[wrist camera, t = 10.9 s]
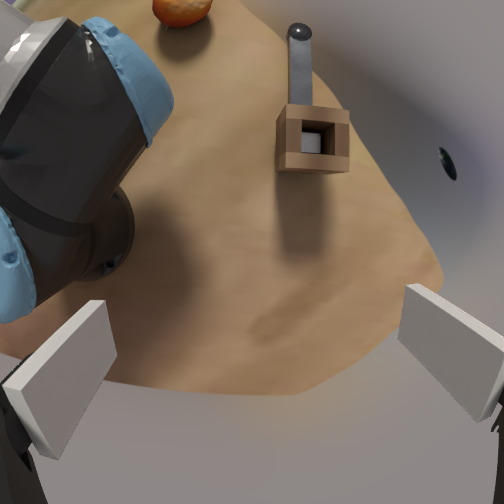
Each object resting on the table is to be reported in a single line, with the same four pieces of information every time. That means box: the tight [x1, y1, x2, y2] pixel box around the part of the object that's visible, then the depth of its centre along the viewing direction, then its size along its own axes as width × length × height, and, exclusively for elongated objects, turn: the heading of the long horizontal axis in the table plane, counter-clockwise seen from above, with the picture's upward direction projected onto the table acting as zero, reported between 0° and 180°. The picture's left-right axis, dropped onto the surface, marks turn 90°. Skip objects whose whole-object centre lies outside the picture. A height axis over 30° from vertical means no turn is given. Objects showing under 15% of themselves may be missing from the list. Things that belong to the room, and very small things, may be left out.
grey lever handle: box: [286, 23, 321, 154], centre depth 33 cm, size 5×22×7 cm, turn 179°
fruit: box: [152, 0, 212, 31], centre depth 30 cm, size 8×8×8 cm
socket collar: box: [275, 104, 349, 174], centre depth 31 cm, size 6×6×8 cm
